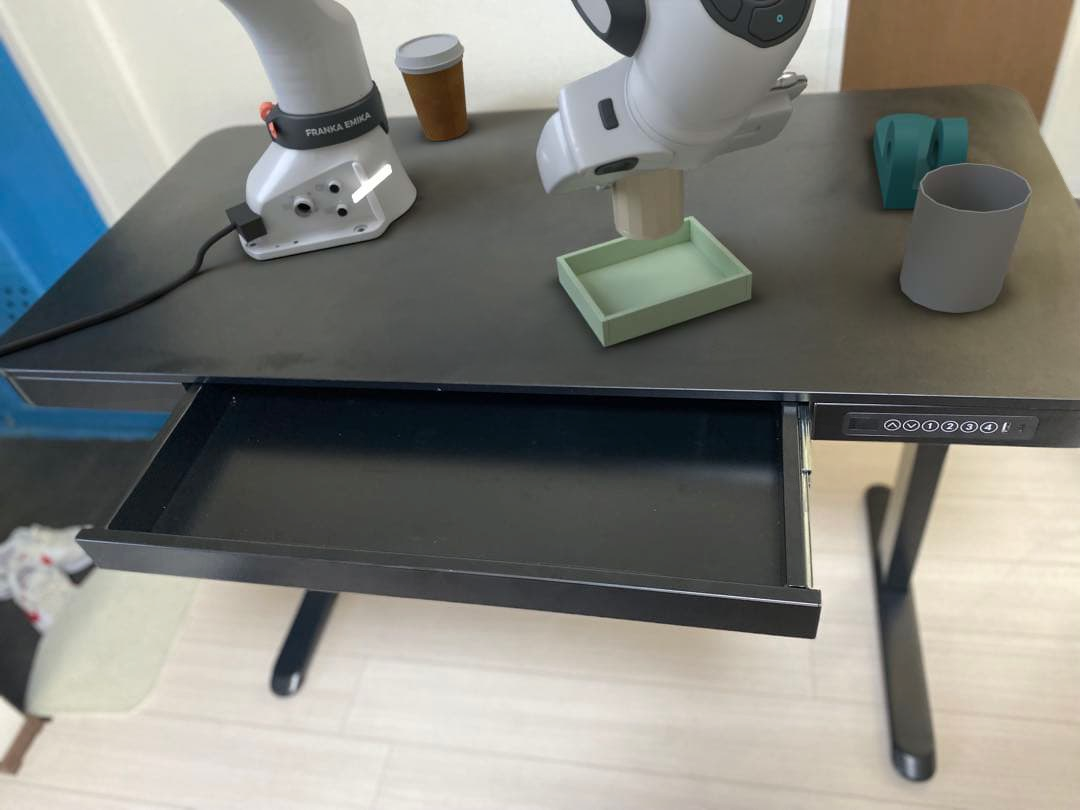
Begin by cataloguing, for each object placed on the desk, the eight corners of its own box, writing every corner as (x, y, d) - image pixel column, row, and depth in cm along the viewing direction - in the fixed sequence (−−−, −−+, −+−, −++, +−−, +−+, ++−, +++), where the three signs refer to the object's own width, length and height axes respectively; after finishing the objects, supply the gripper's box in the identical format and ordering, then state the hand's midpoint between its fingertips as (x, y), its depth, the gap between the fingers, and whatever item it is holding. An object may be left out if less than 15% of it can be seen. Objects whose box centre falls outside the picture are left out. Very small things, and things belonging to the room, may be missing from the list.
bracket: (954, 208, 82) (972, 135, 77) (884, 209, 84) (897, 138, 78) (931, 130, 95) (945, 63, 89) (870, 132, 96) (881, 67, 91)
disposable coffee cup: (415, 122, 117) (394, 39, 109) (479, 112, 117) (462, 27, 109) (411, 151, 110) (389, 63, 102) (479, 140, 110) (461, 51, 102)
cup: (1008, 313, 69) (1041, 212, 62) (906, 312, 71) (928, 213, 64) (989, 259, 75) (1018, 161, 68) (895, 259, 77) (914, 164, 70)
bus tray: (604, 347, 73) (601, 321, 71) (559, 281, 82) (556, 257, 80) (751, 299, 76) (752, 273, 74) (692, 240, 84) (692, 215, 82)
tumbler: (631, 248, 71) (625, 153, 65) (604, 216, 75) (595, 126, 69) (696, 228, 72) (695, 133, 66) (665, 198, 76) (662, 107, 70)
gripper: (805, 29, 58) (743, 110, 72) (537, 92, 56) (526, 163, 70) (829, 110, 58) (762, 177, 72) (560, 176, 56) (545, 231, 70)
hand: (643, 170), depth 71 cm, fingers closed on tumbler, 6 cm apart
